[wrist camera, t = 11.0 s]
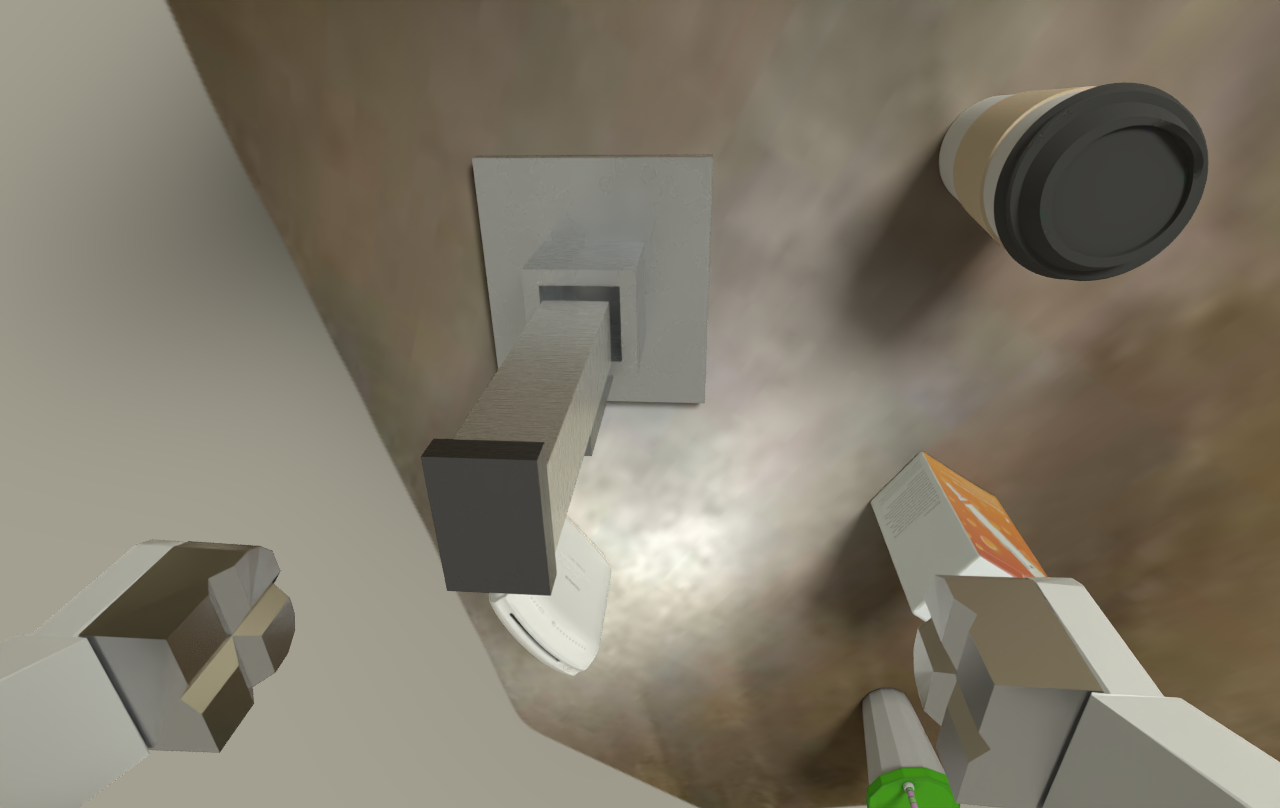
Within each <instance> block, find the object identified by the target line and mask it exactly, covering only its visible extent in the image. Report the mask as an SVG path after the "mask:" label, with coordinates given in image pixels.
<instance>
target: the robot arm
mask: <svg viewBox="0 0 1280 808" xmlns="http://www.w3.org/2000/svg"><path fill="white" fill-rule="evenodd" d="M279 573H280V568H279V566H278V563H277V561H276V558H275V556H274V553H273V551H272V550H269V549H267V548H264V547H261V546H251V545H237V544H221V543H207V542H192V541H188V542H180V541H165V540H149V541H146V542H143V543H139V544H136V545H135V546H134V547H133V548H131V549H130V550H129V551H128V552H127V553H125V554H124V555H123V556H122V557H121V558H120V559H118V560H117V561H116V562H115V563H114V564H113V565H111V566H110V567H109V568H108V569H107V570H106V571H104V572H103V573H102V574H101V575H100V576H99V577H97V579H95V580H94V581H93V582H91V583H90V584H89V585H88V586H87V587H86V588H84V589H83V590H82V591H81V592H80V593H79V594H77V595H76V596H75V597H74V598H73V599H72V600H70V601H69V602H68V603H67V604H66V605H65V606H64V607H62V608H61V609H60V610H59V611H58V612H57V613H55V614H54V615H53V616H52V617H51V618H49V619H48V620H47V621H46V622H45V623H44V624H42V625H41V626H40V627H39V628H38V629H37V630H36V631H34V632H33V633H32V634H31V635H27V634H17V635H15V636H13V637H10V638H8V639H6V640H4V641H2V642H0V808H79V807H81V806H82V805H83V804H84V803H86V802H87V801H89V800H90V799H91V798H93V797H94V796H95V795H97V794H98V793H99V792H100V791H102V790H103V789H104V788H106V787H107V786H108V785H110V784H111V783H112V782H114V781H115V780H116V779H118V778H119V777H120V776H122V775H123V774H124V773H126V772H127V771H128V770H130V769H131V768H132V767H134V766H135V765H136V764H138V763H139V762H140V761H141V760H143V759H144V758H145V757H147V756H148V755H149V754H150V752H149V750H162V751H189V752H217V753H218V752H219V753H220V752H221V750H222V749H223V747H224V746H225V744H226V742H227V741H228V740H229V739H230V737H231V735H232V734H233V733H234V731H235V730H236V728H237V727H238V726H239V724H240V723H241V721H242V720H243V718H244V717H245V716H246V714H247V713H248V711H249V710H250V708H251V707H252V706H253V704H254V698H253V687H254V686H255V685H257V684H259V683H260V682H261V681H263V680H265V679H266V678H268V677H269V676H271V675H272V674H274V673H275V672H276V670H277V669H278V668H279V666H280V665H281V663H282V662H283V660H284V659H285V657H286V656H287V654H288V651H289V648H290V645H291V641H292V638H293V635H294V631H295V615H294V614H295V613H294V609H293V606H292V603H291V600H290V598H289V597H288V596H287V595H286V594H285V593H284V592H283V591H282V590H280V589H279V588H278V587H277V586H276V585H275V584H274V582H275V580H276V579H277V577H278V575H279ZM925 602H926V605H927V607H928V610H929V612H930V615H931V618H930V619H929V620H928V621H926V622H925V623H924V624H923V625H921V626H920V627H919V628H918V630H917V635H916V641H915V646H914V674H915V679H916V684H917V690H918V693H919V696H920V700H921V703H922V706H923V709H924V711H925V712H926V713H927V714H928V715H930V716H931V717H932V718H933V719H934V720H935V721H936V722H937V723H938V724H939V725H940V726H941V729H940V733H939V736H938V740H937V744H936V747H937V750H938V753H939V756H940V759H941V762H942V765H943V768H944V770H945V773H946V776H947V779H948V782H949V785H950V788H951V791H952V793H953V796H954V799H955V802H956V803H959V804H969V805H979V806H990V807H1001V808H1280V762H1279V761H1277V760H1275V759H1274V758H1272V757H1271V756H1269V755H1268V754H1266V753H1265V752H1263V751H1261V750H1260V749H1258V748H1257V747H1255V746H1254V745H1252V744H1251V743H1249V742H1248V741H1246V740H1244V739H1243V738H1241V737H1240V736H1238V735H1237V734H1235V733H1234V732H1232V731H1231V730H1229V729H1227V728H1226V727H1224V726H1223V725H1221V724H1220V723H1218V722H1217V721H1215V720H1213V719H1212V718H1210V717H1209V716H1207V715H1206V714H1204V713H1203V712H1201V711H1200V710H1198V709H1196V708H1195V707H1193V706H1192V705H1190V704H1189V703H1187V702H1186V701H1184V700H1183V699H1181V698H1173V697H1164V696H1163V694H1162V693H1161V692H1160V690H1159V689H1158V688H1157V686H1156V685H1155V683H1154V682H1153V681H1152V679H1151V678H1150V677H1149V675H1148V674H1147V673H1146V671H1145V670H1144V668H1143V667H1142V666H1141V664H1140V663H1139V662H1138V660H1137V659H1136V657H1135V656H1134V655H1133V653H1132V652H1131V651H1130V649H1129V648H1128V646H1127V645H1126V644H1125V642H1124V641H1123V640H1122V638H1121V637H1120V635H1119V634H1118V633H1117V631H1116V630H1115V629H1114V627H1113V626H1112V625H1111V623H1110V622H1109V620H1108V619H1107V618H1106V616H1105V615H1104V614H1103V612H1102V611H1101V609H1100V608H1099V607H1098V605H1097V604H1096V603H1095V601H1094V600H1093V598H1092V597H1091V596H1090V594H1089V593H1088V592H1087V590H1086V589H1085V587H1084V586H1083V585H1082V584H1080V583H1079V582H1077V581H1076V580H1074V579H1073V578H1047V577H1025V578H1016V577H988V576H960V575H934V577H933V578H932V580H931V581H930V583H929V585H928V589H927V593H926V597H925Z"/></svg>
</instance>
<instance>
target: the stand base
mask: <svg viewBox="0 0 1280 808" xmlns="http://www.w3.org/2000/svg"><path fill="white" fill-rule="evenodd" d="M472 163H473V171H474V179H475V187H476V195H477V203H478V211H479V219H480V227H481V235H482V243H483V251H484V259H485V267H486V275H487V283H488V291H489V299H490V307H491V315H492V323H493V331H494V339H495V347H496V356H497V364H498V369H499V367H500V366H501V364H502V363H503V361H504V360H505V358H506V357H507V355H508V353H509V352H510V350H511V349H512V347H513V346H514V344H515V343H516V341H517V340H518V338H519V336H520V335H521V333H522V332H523V330H524V329H525V327H526V326H527V324H528V323H529V321H530V319H531V318H532V316H533V315H534V313H535V312H536V310H537V309H538V307H539V306H540V304H541V302H542V301H543V300H544V301H609V313H610V339H611V366H610V369H609V373H608V376H607V380H606V383H605V386H604V390H603V393H602V396H601V400H600V403H599V407H598V410H597V413H596V417H595V420H594V424H593V427H592V430H591V434H590V437H589V441H588V444H587V447H586V451H585V454H584V456H592V454H593V450H594V446H595V443H596V439H597V435H598V432H599V428H600V425H601V421H602V417H603V414H604V410H605V406H606V403H607V401H632V402H673V403H705V378H706V348H707V317H708V287H709V257H710V227H711V197H712V166H713V155H553V156H476V157H474V158H472Z"/></svg>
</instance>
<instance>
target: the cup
mask: <svg viewBox="0 0 1280 808" xmlns="http://www.w3.org/2000/svg"><path fill="white" fill-rule="evenodd" d="M862 711H863V722H864V733H865V744H866V755H867V766H868V777H869V786H868V787H867V797H866V803H867V808H960V804H959V803H956V802H955V799H954V796H953V793H952V791H951V788H950V785H949V782H948V779H947V776H946V774H945V772H944V770H943V768H942V766H941V764H940V762H939V760H938V758H937V756H936V754H935V752H934V750H933V748H932V746H931V744H930V742H929V739H928V737H927V735H926V733H925V731H924V729H923V727H922V725H921V723H920V721H919V719H918V717H917V715H916V713H915V711H914V709H913V707H912V705H911V703H910V701H909V699H908V698H907V697H906V695H905V694H904V693H903V692H901V691H898V690H896V689H893V688H883V689H878V690H875V691H873V692H870V693H869V694H868V695H867V696H866V697H865V698H864V699H863V702H862Z"/></svg>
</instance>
